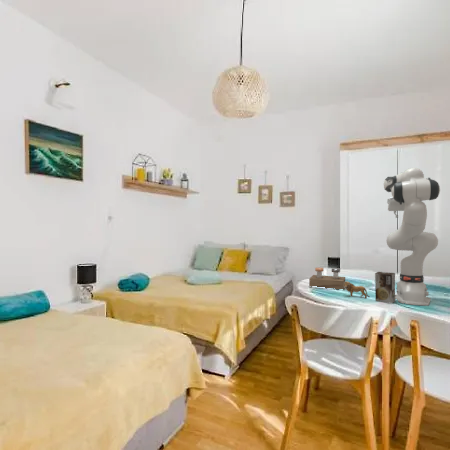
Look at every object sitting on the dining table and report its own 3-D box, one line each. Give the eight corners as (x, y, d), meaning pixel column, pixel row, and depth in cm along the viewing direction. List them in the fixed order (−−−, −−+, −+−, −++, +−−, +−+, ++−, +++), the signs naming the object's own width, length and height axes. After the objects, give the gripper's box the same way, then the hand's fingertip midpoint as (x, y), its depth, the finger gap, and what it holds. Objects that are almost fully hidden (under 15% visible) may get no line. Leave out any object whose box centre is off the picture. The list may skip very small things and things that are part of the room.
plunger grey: (339, 281, 213) (339, 269, 213) (331, 280, 216) (331, 269, 215) (340, 280, 218) (340, 268, 218) (332, 279, 221) (332, 268, 220)
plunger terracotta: (322, 280, 218) (322, 268, 218) (314, 279, 220) (314, 268, 220) (324, 278, 223) (324, 267, 223) (315, 278, 225) (315, 267, 225)
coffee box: (395, 301, 178) (395, 272, 178) (392, 303, 174) (392, 274, 173) (378, 298, 184) (378, 271, 184) (374, 300, 180) (374, 272, 179)
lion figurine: (343, 296, 190) (343, 282, 190) (343, 294, 195) (343, 280, 195) (370, 298, 184) (370, 283, 184) (369, 296, 189) (369, 281, 189)
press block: (343, 290, 207) (343, 281, 207) (309, 287, 217) (309, 278, 217) (345, 285, 222) (345, 276, 222) (313, 283, 231) (313, 274, 231)
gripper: (387, 197, 212) (387, 217, 212) (423, 196, 204) (423, 217, 204) (387, 197, 218) (387, 217, 218) (421, 196, 209) (421, 217, 210)
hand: (404, 217), depth 211 cm, fingers open, 8 cm apart
